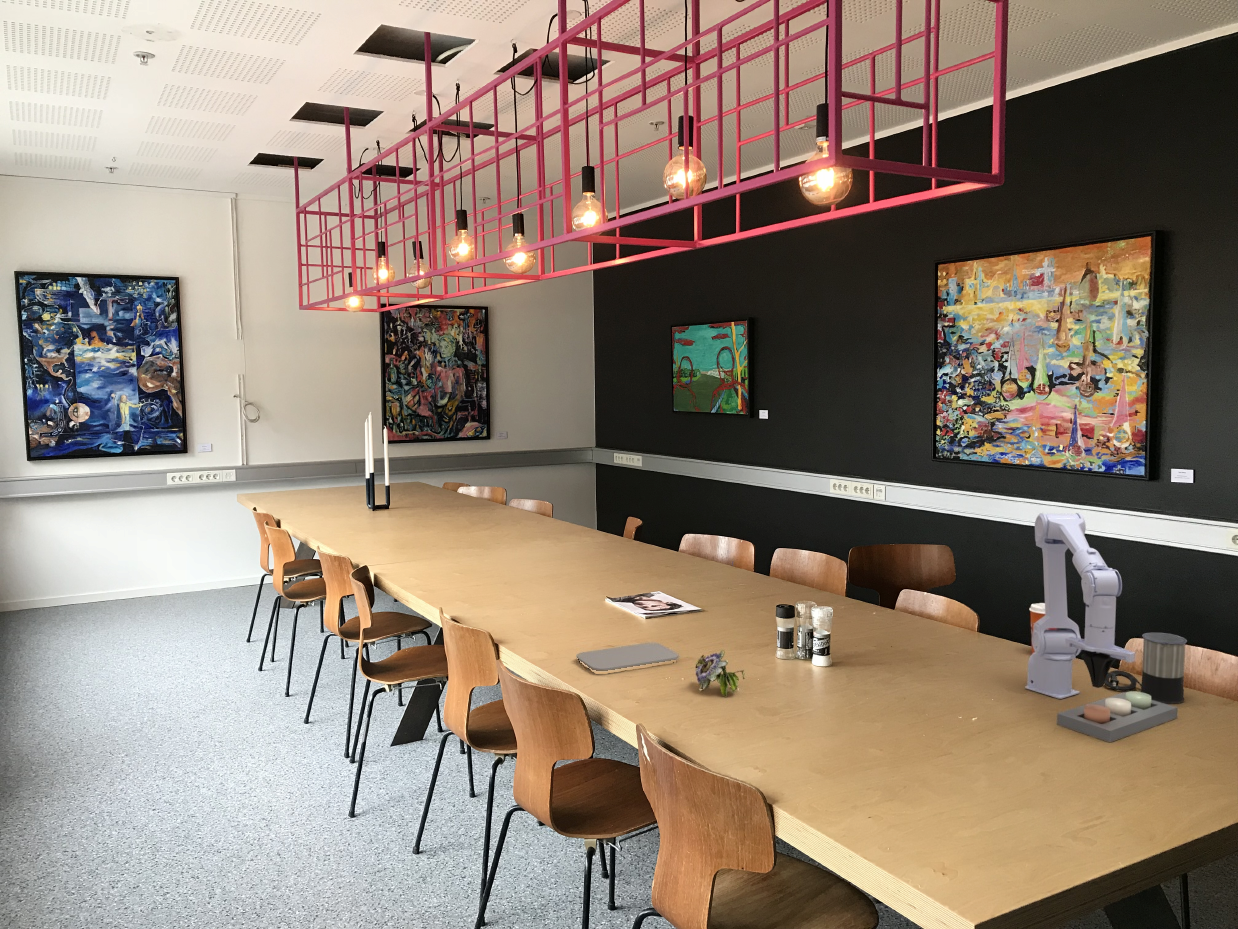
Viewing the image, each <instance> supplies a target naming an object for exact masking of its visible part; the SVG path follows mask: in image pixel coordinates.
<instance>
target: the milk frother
mask: <svg viewBox="0 0 1238 929" xmlns="http://www.w3.org/2000/svg"><path fill="white" fill-rule="evenodd" d="M1142 639H1143V644H1142V646H1143V647H1142V670H1141V672H1142V674H1141V682H1140V681H1139V680H1138V679H1137V678H1136V677H1135V675H1133V674H1131V673H1130V672H1128V671H1124V670H1121V669H1120V670H1119V669H1118V670H1117V669H1115V670H1112V671H1110V672H1108V674H1107V676H1106V679H1105V682H1104V686H1106V687H1107V688H1109V689H1112V690H1115V691H1118V692H1119V691H1120V692H1130V691H1132V690H1133V691H1134V689H1135V688H1136V687H1137V684H1138V685H1139V686H1140V691H1139V692H1142V693H1146V694H1149V695H1150V696H1151V700H1154V701H1157V702H1161V703H1164V704H1168V705H1171V704H1175V705H1176V704H1181V703H1183V702H1185V698H1184V694H1185V693H1184V692H1185V689H1184V680H1185V662H1186V660H1185V658H1186V643H1187V642H1188V640H1187V638H1185V637H1182V636H1181V635H1180V636H1179V635H1177V634H1172V633H1166V632H1165V633H1164V632H1146V633H1143V634H1142ZM1118 677H1123V678H1126V679H1127V680H1129V681H1130V684H1128V685H1124V686H1123V685H1119V684H1120V680H1119V679H1118Z"/></svg>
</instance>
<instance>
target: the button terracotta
mask: <svg viewBox="0 0 1238 929" xmlns="http://www.w3.org/2000/svg"><path fill="white" fill-rule="evenodd" d="M1084 705H1085V706H1084V719H1087V720H1090V721H1093V722H1096V723H1099V724H1104V723H1107V722H1110V709H1109V708H1107V707H1104V706H1100V705H1086V704H1084Z"/></svg>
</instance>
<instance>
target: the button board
mask: <svg viewBox="0 0 1238 929" xmlns="http://www.w3.org/2000/svg"><path fill="white" fill-rule="evenodd" d="M1126 692H1127V691H1122V692H1120V693H1118V694H1114V695H1111V696H1108V697H1104V698H1102V699H1099V700H1096V701H1093V702H1090V703H1086V704H1083V705H1080V706H1077V707H1073V708H1071V709H1067V710H1063V711H1060V712H1057V713H1056V725H1058V726H1061V727H1063V728H1065V729H1069V730H1072V731H1075V732H1079V733H1081V734H1085V735H1087V736H1089V737H1092V738H1095V739H1098V740H1101V741H1105V742H1107V743H1113V742H1115V741H1118V740H1121V739H1124V738H1126V737H1129V736H1132V735H1135V734H1137V733H1140V732H1143V731H1146V730H1148V729H1152V728H1155V727H1156V726H1160V725H1162V724H1165V723H1167V722H1168V723H1169V722H1171V721H1174V720H1176V719H1178V712H1179V711H1178V708H1179V707H1178V706H1173V705H1171V704H1168V703H1161V702H1157V701H1154V700H1151V708H1148V709H1145V710H1142V709H1139V708H1136V707H1132V706H1131V715H1128V716H1125V717H1122V716H1119V715H1115V714H1112V713H1110V722H1107V723H1104V724H1099V723H1096V722H1093V721H1090V720H1087V719H1084V706H1085V705H1100V706H1104V707H1105V700H1106V699H1107V698H1120V699H1124V700H1126Z"/></svg>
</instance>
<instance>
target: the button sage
mask: <svg viewBox="0 0 1238 929" xmlns="http://www.w3.org/2000/svg"><path fill="white" fill-rule="evenodd" d="M1125 692H1126V700H1127V701H1129V702H1131V706H1132V707H1136V708H1139V709H1142V710H1145V709H1148V708H1151V696H1150V695H1149V694H1146V693H1142V692H1140V691H1136V690H1135V691H1134V690H1133V691H1132V690H1130V691H1125Z"/></svg>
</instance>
